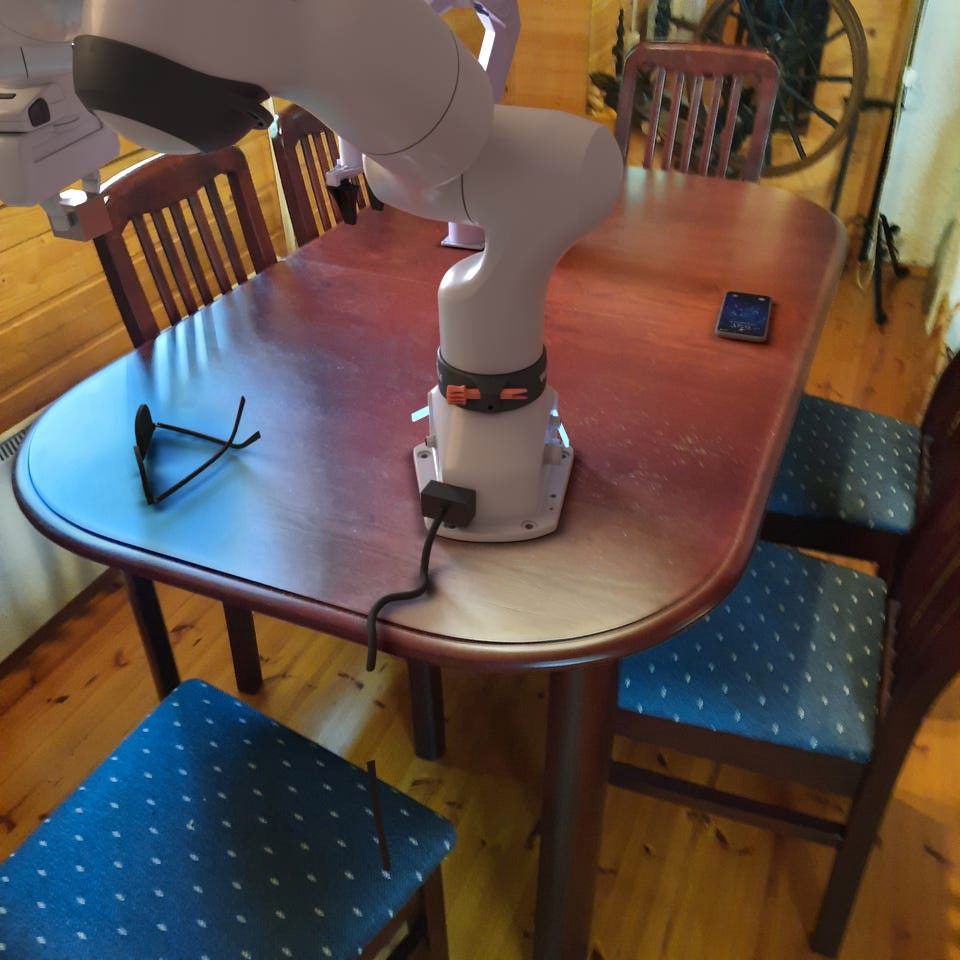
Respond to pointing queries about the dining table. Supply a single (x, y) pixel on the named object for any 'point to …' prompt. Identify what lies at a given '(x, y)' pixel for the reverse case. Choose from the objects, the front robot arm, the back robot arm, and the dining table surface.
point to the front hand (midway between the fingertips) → (79, 219)
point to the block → (84, 215)
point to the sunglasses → (147, 427)
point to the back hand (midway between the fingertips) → (364, 216)
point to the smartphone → (744, 316)
